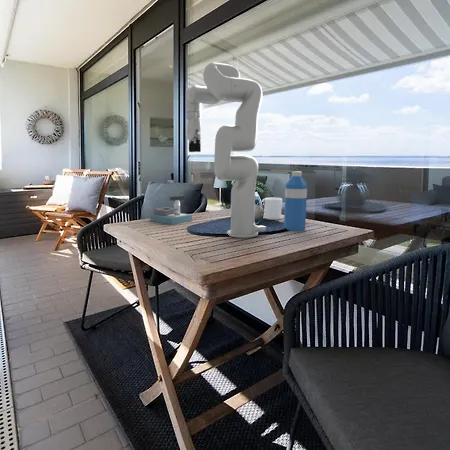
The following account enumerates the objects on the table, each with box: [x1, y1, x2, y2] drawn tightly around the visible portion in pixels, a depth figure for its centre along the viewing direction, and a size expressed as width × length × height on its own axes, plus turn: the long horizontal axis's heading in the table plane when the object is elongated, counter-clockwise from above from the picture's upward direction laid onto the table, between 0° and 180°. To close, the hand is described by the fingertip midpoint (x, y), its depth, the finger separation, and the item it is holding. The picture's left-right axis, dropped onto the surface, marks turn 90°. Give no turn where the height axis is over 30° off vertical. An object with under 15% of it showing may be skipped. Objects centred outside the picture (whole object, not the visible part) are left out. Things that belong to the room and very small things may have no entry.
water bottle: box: [283, 170, 308, 232], centre depth 147 cm, size 9×9×25 cm
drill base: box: [149, 206, 193, 226], centre depth 168 cm, size 18×13×6 cm
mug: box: [261, 197, 283, 221], centre depth 174 cm, size 11×9×10 cm
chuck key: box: [168, 195, 185, 215], centre depth 163 cm, size 7×3×9 cm, turn 112°
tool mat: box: [168, 213, 187, 217], centre depth 164 cm, size 6×7×1 cm
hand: (194, 151), depth 170 cm, fingers open, 9 cm apart
